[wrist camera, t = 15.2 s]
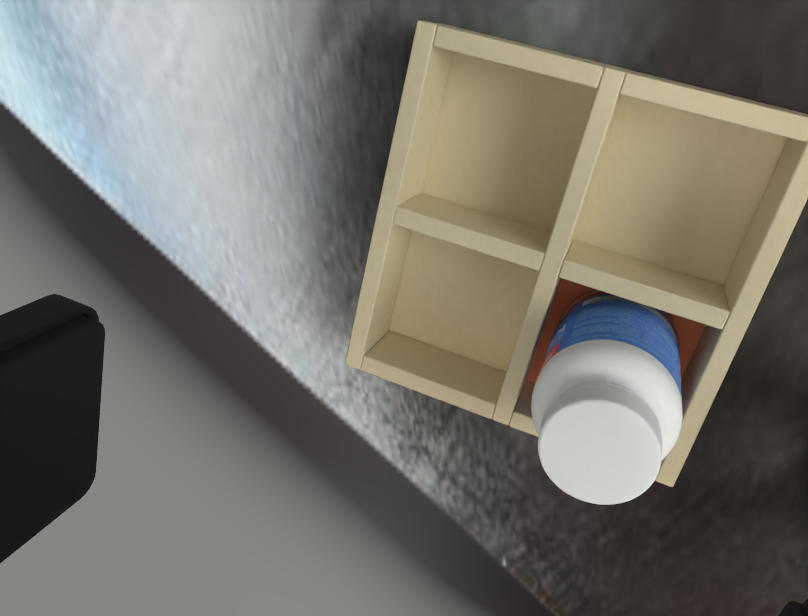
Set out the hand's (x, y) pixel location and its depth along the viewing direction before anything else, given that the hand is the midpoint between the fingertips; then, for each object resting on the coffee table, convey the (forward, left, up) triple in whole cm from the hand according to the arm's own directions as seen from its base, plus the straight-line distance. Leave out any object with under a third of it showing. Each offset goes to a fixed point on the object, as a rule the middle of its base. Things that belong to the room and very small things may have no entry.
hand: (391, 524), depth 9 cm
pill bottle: (+4, -6, -24) cm, 25 cm away
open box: (0, -2, -25) cm, 25 cm away
